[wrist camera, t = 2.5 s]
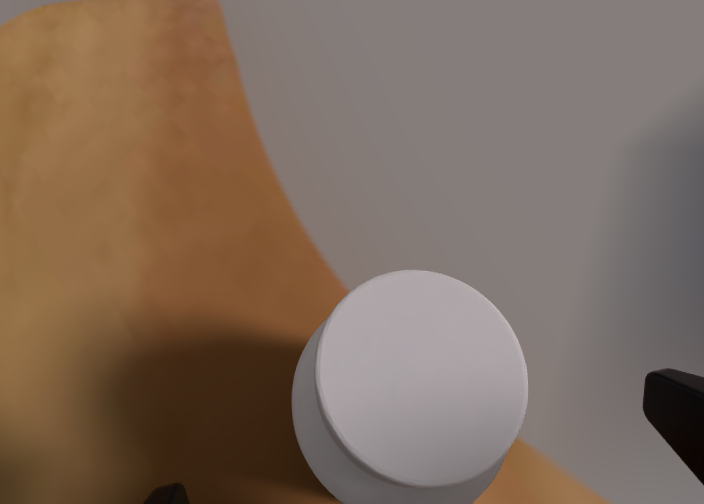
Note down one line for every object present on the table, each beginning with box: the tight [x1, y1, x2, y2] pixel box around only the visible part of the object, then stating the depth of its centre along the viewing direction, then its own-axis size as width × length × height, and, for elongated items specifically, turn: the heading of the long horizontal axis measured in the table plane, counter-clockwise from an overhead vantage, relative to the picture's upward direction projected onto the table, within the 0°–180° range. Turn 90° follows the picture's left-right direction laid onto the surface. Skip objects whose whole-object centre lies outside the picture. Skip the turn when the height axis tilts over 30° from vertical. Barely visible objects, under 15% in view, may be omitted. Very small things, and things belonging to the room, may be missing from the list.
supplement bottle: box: [292, 270, 528, 504], centre depth 12 cm, size 5×5×10 cm
